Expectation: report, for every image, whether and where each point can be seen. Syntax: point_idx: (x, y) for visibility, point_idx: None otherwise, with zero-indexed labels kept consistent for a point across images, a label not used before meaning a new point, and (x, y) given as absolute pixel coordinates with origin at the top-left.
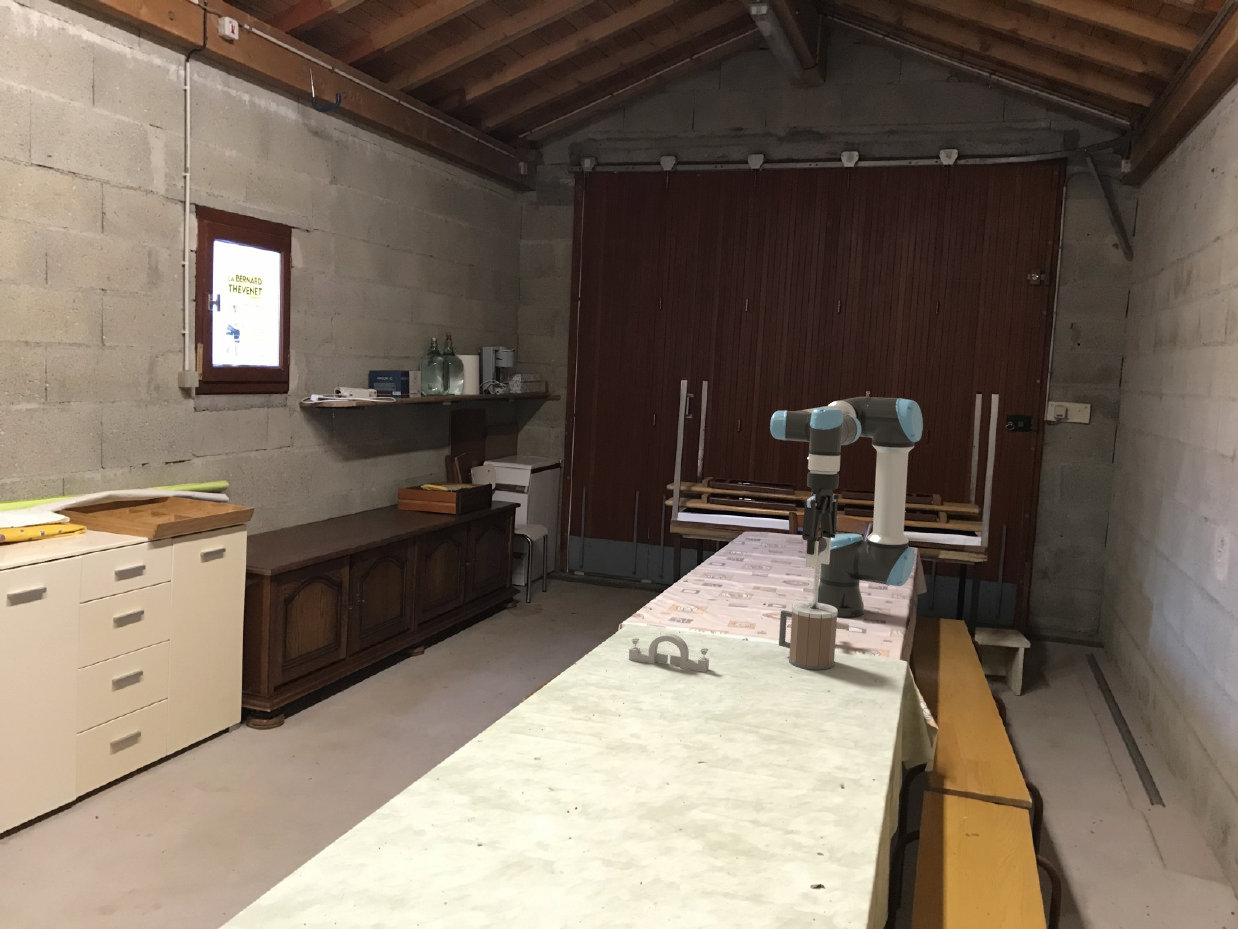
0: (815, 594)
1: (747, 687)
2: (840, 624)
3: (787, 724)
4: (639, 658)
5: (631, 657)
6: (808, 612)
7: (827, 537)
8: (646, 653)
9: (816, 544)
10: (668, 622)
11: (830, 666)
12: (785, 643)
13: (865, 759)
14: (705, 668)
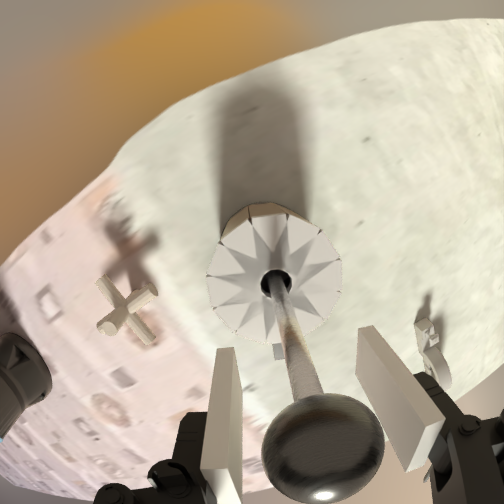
0: (289, 298)
1: (439, 238)
2: (112, 291)
3: (484, 127)
4: None
5: None
6: (334, 265)
7: (209, 485)
8: None
9: (435, 410)
10: None
11: (264, 202)
12: None
13: (474, 34)
14: (427, 320)
